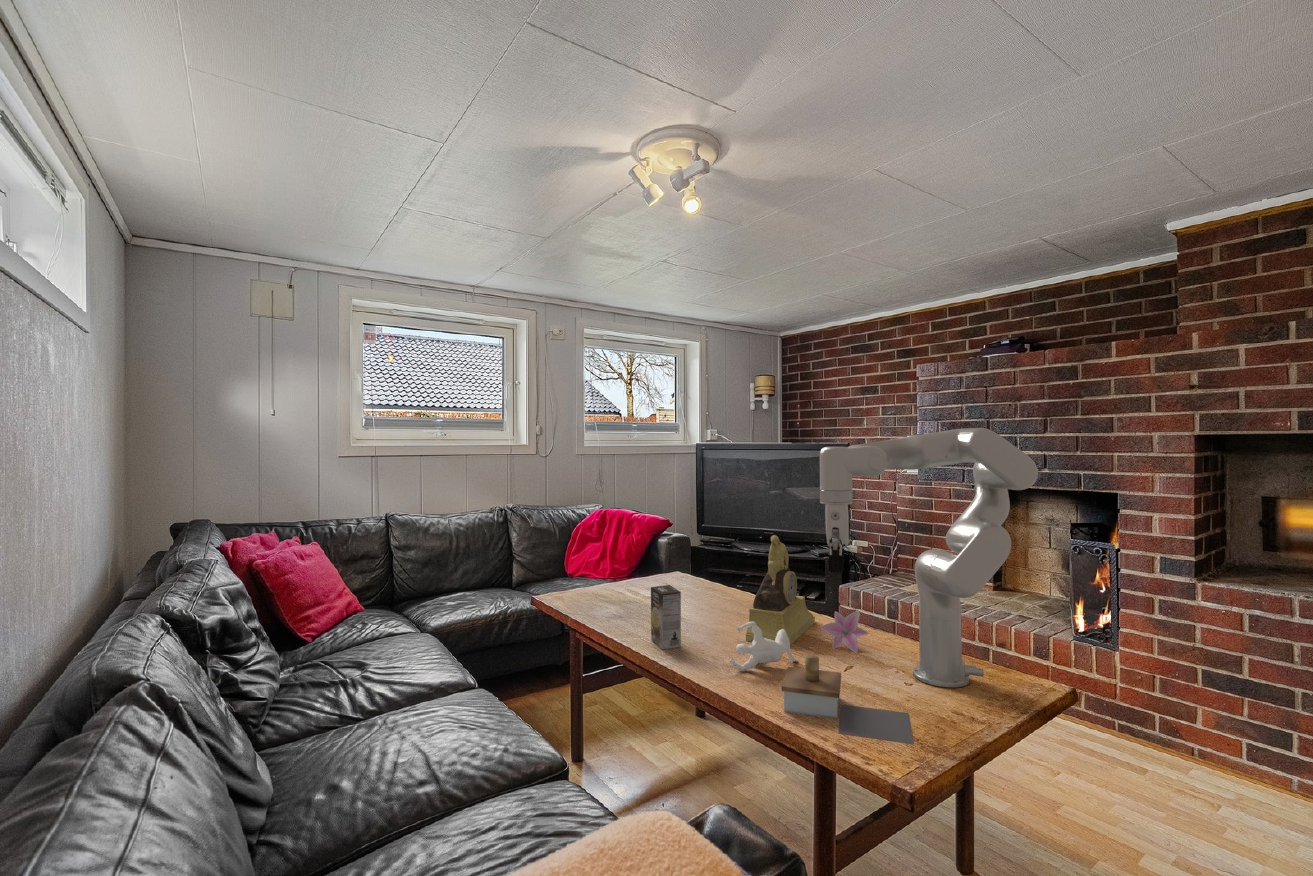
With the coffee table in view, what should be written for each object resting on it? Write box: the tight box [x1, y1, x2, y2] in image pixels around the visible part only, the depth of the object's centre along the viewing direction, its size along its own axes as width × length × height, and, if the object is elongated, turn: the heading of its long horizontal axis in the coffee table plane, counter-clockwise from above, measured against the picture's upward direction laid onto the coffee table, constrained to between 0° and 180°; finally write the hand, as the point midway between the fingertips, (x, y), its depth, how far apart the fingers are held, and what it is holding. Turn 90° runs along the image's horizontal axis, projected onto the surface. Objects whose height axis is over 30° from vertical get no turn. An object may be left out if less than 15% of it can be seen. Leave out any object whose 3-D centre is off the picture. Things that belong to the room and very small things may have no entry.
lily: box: [819, 610, 870, 654], centre depth 173 cm, size 12×12×10 cm
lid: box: [781, 654, 842, 699], centre depth 134 cm, size 12×12×6 cm
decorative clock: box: [745, 534, 816, 646], centre depth 188 cm, size 28×13×30 cm, turn 150°
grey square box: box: [783, 691, 840, 720], centre depth 134 cm, size 11×11×5 cm
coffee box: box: [650, 584, 682, 650], centre depth 177 cm, size 9×6×16 cm
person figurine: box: [728, 621, 799, 673], centre depth 157 cm, size 13×13×18 cm
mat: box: [838, 704, 915, 745], centre depth 125 cm, size 14×14×1 cm
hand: (836, 567), depth 146 cm, fingers open, 9 cm apart
